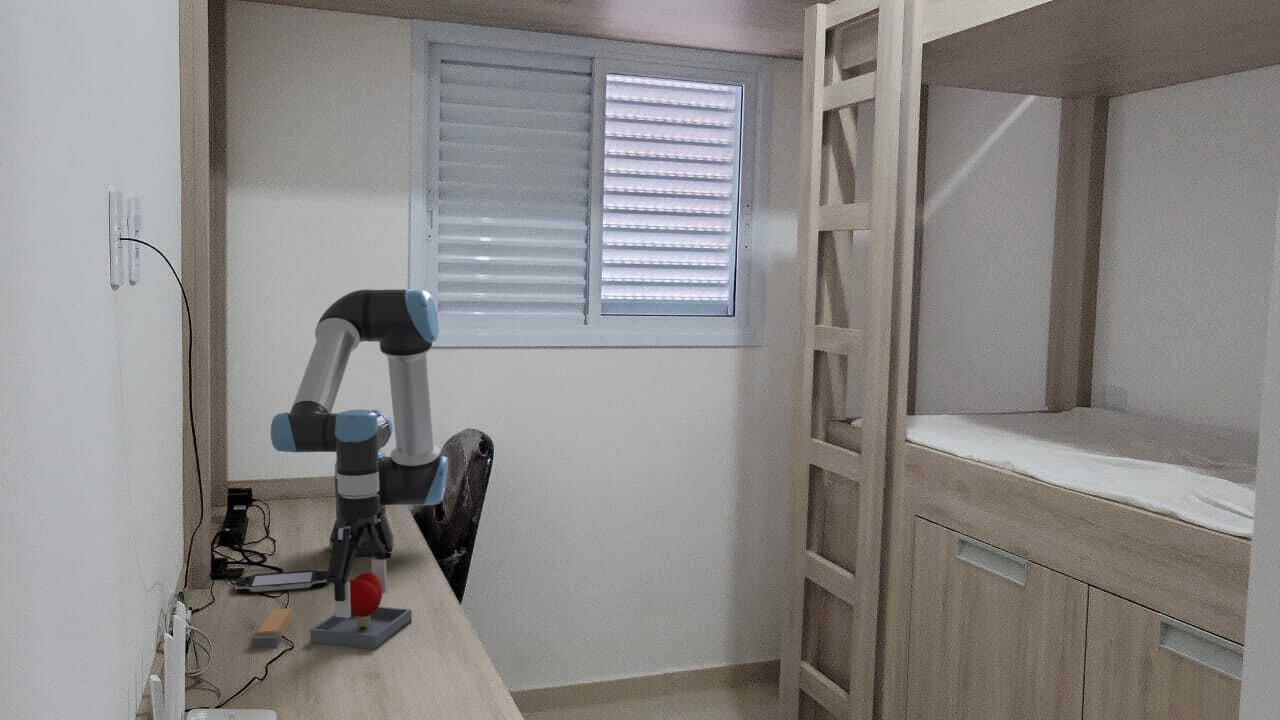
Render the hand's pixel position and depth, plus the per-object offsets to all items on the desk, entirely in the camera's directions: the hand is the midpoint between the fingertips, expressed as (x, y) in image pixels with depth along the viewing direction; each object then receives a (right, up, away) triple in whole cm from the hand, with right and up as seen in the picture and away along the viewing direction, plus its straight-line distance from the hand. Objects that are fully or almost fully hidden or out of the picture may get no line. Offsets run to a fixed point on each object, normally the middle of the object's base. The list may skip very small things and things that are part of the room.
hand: (362, 604), depth 195 cm
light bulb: (0, -5, +1) cm, 5 cm away
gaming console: (-24, -3, +27) cm, 37 cm away
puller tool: (-16, -5, +1) cm, 17 cm away
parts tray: (0, -5, 0) cm, 5 cm away
